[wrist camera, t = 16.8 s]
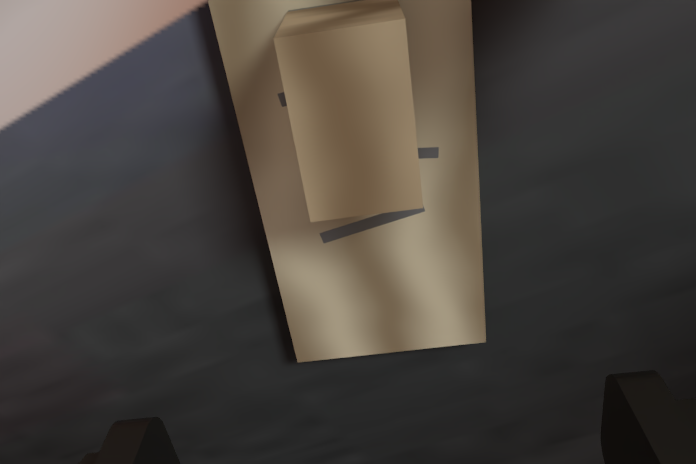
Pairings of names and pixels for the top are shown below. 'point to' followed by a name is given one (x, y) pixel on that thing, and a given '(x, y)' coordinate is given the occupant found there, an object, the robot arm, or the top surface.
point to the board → (377, 229)
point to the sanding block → (351, 107)
